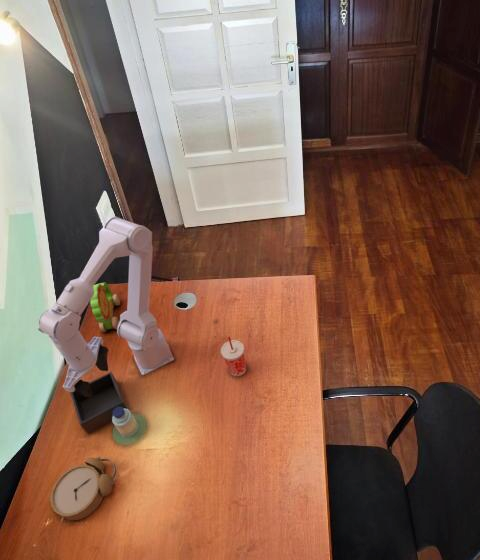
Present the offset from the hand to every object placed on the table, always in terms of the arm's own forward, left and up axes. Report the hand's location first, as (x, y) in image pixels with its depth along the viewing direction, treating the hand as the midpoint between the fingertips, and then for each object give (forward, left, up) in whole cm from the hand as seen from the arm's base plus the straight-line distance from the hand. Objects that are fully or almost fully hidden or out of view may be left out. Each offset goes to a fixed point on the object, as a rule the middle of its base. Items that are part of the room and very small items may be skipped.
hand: (97, 382), depth 119 cm
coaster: (-2, +10, -10) cm, 15 cm away
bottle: (-2, +10, -10) cm, 14 cm away
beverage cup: (-33, +9, -11) cm, 36 cm away
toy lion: (-9, -30, -11) cm, 33 cm away
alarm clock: (+11, +19, -11) cm, 25 cm away
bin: (+2, 0, -10) cm, 11 cm away
